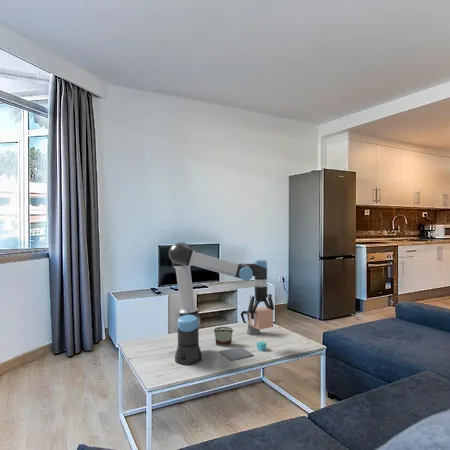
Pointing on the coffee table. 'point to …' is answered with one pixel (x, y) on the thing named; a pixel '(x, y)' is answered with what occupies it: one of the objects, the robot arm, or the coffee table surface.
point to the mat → (236, 353)
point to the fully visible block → (261, 346)
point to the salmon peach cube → (262, 318)
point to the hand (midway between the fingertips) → (261, 323)
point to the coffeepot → (251, 329)
